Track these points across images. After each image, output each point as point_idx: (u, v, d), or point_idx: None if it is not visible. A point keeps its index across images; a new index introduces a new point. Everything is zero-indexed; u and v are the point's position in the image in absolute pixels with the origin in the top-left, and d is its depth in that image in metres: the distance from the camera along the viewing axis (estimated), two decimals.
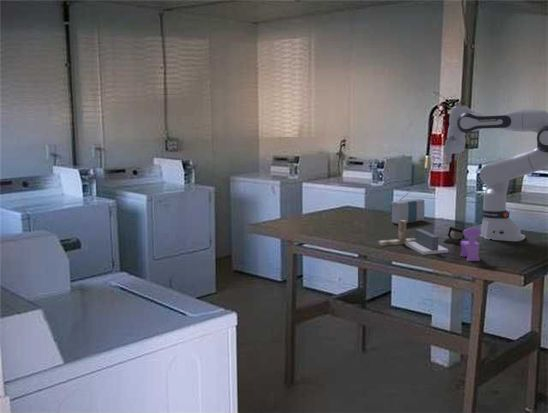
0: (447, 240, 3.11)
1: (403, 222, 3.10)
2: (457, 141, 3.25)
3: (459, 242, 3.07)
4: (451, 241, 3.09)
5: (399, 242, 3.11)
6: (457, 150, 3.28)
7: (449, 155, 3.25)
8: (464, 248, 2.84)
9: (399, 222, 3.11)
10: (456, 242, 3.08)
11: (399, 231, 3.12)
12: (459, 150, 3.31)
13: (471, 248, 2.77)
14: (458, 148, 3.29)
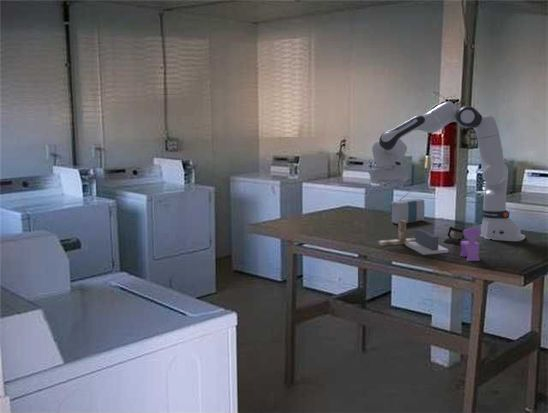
0: (447, 240, 3.11)
1: (403, 222, 3.10)
2: (384, 168, 3.25)
3: (459, 242, 3.07)
4: (451, 241, 3.09)
5: (399, 242, 3.11)
6: (390, 176, 3.23)
7: (379, 182, 3.21)
8: (464, 248, 2.84)
9: (399, 222, 3.11)
10: (456, 242, 3.08)
11: (399, 231, 3.12)
12: (396, 176, 3.23)
13: (471, 248, 2.77)
14: (392, 175, 3.24)
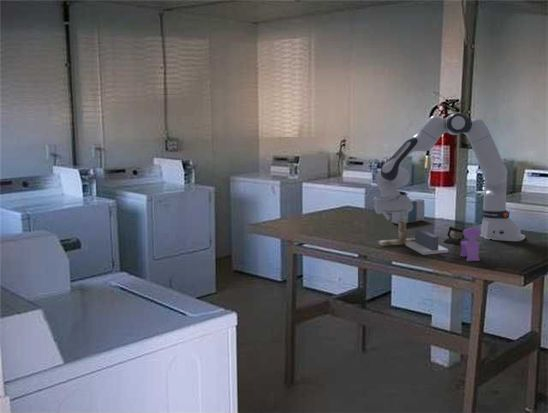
0: (447, 240, 3.11)
1: (403, 222, 3.10)
2: (388, 199, 3.21)
3: (459, 242, 3.07)
4: (451, 241, 3.09)
5: (399, 242, 3.11)
6: (395, 206, 3.19)
7: (383, 213, 3.18)
8: (464, 248, 2.84)
9: (399, 222, 3.11)
10: (456, 242, 3.08)
11: (399, 231, 3.12)
12: (400, 206, 3.20)
13: (471, 248, 2.77)
14: (396, 205, 3.20)
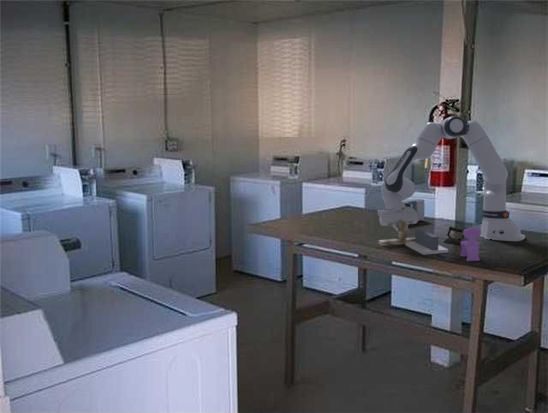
0: (447, 240, 3.11)
1: (403, 222, 3.10)
2: (393, 210, 3.16)
3: (459, 242, 3.07)
4: (451, 241, 3.10)
5: (399, 242, 3.11)
6: (400, 219, 3.14)
7: (393, 224, 3.13)
8: (464, 248, 2.84)
9: (399, 221, 3.11)
10: (456, 242, 3.08)
11: None
12: (406, 219, 3.14)
13: (471, 248, 2.77)
14: (402, 217, 3.14)
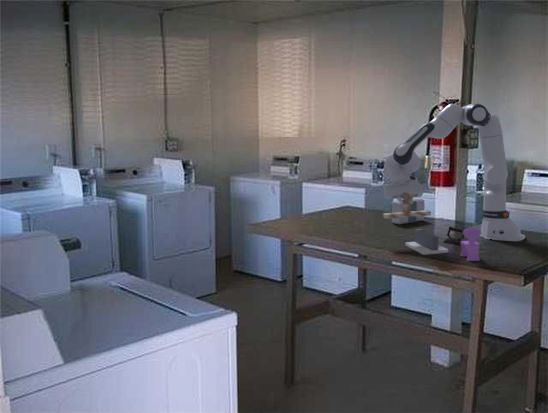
0: (447, 240, 3.11)
1: (407, 194, 3.05)
2: (398, 183, 3.11)
3: (459, 242, 3.07)
4: (451, 241, 3.10)
5: (404, 215, 3.06)
6: (405, 191, 3.09)
7: (398, 197, 3.08)
8: (464, 248, 2.84)
9: (404, 194, 3.07)
10: (456, 242, 3.08)
11: None
12: (410, 191, 3.09)
13: (471, 248, 2.77)
14: (407, 190, 3.10)
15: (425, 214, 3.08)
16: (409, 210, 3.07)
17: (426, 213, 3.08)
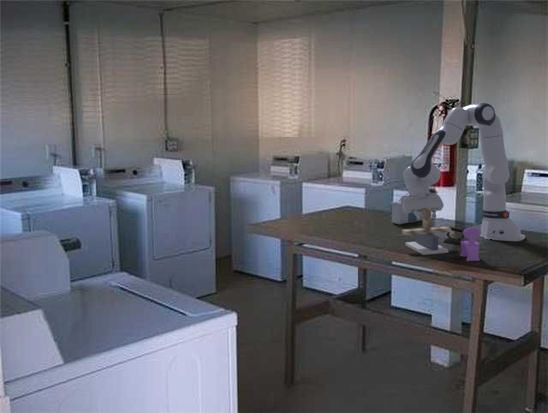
0: (447, 240, 3.11)
1: (428, 210, 2.95)
2: (417, 197, 3.01)
3: (459, 242, 3.08)
4: (451, 241, 3.10)
5: (423, 231, 2.96)
6: (424, 205, 2.99)
7: (414, 212, 2.98)
8: (464, 248, 2.84)
9: (424, 210, 2.97)
10: (456, 242, 3.08)
11: (423, 220, 2.97)
12: (430, 205, 2.99)
13: (471, 248, 2.77)
14: (426, 204, 3.00)
15: (445, 231, 2.99)
16: (429, 226, 2.97)
17: (446, 229, 2.99)
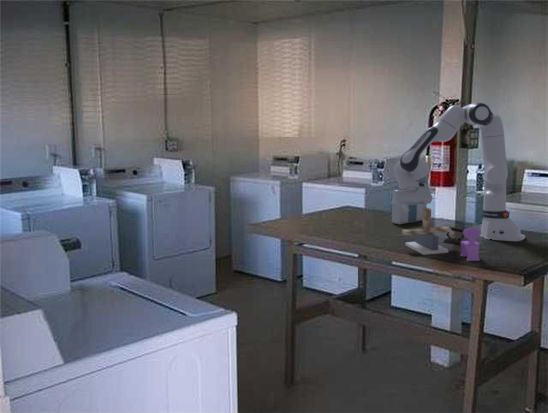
0: (446, 240, 3.11)
1: (428, 210, 2.95)
2: (407, 190, 3.12)
3: (459, 242, 3.08)
4: (451, 241, 3.10)
5: (423, 231, 2.96)
6: (414, 198, 3.10)
7: (402, 204, 3.09)
8: (464, 248, 2.84)
9: (424, 210, 2.97)
10: (456, 242, 3.08)
11: (423, 220, 2.97)
12: (419, 198, 3.11)
13: (471, 248, 2.77)
14: (416, 197, 3.11)
15: (445, 231, 2.99)
16: (429, 226, 2.97)
17: (446, 229, 2.99)
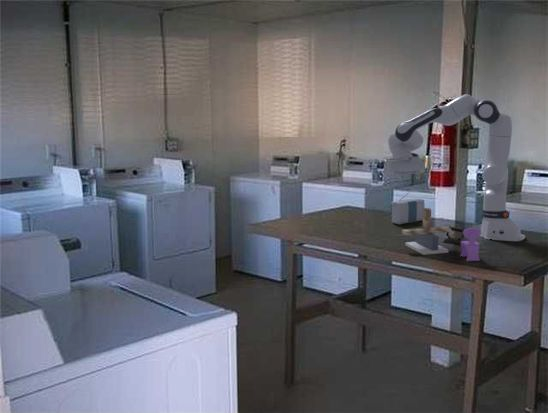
0: (446, 240, 3.11)
1: (428, 210, 2.95)
2: (400, 160, 3.23)
3: (459, 241, 3.08)
4: (451, 241, 3.10)
5: (423, 231, 2.96)
6: (407, 168, 3.21)
7: (396, 173, 3.20)
8: (464, 248, 2.84)
9: (424, 210, 2.97)
10: (456, 241, 3.09)
11: (423, 220, 2.97)
12: (412, 168, 3.22)
13: (471, 248, 2.77)
14: (409, 166, 3.22)
15: (445, 231, 2.99)
16: (429, 226, 2.97)
17: (446, 229, 2.99)
